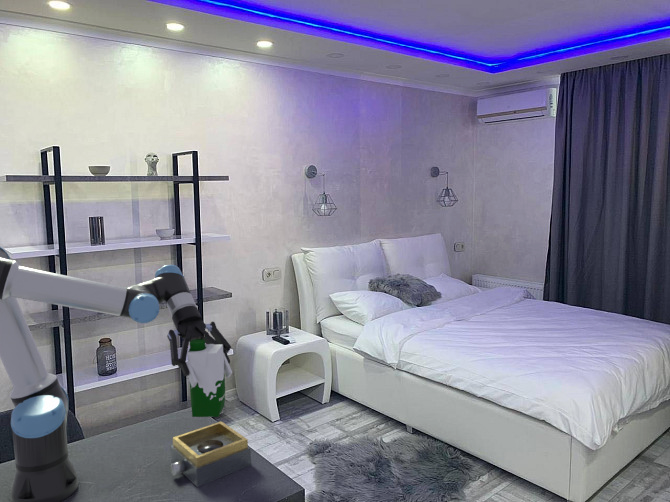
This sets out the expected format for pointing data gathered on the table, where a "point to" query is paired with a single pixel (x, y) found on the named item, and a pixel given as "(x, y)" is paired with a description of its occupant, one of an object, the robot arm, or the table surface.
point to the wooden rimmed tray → (209, 453)
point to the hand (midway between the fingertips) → (212, 379)
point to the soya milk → (207, 378)
